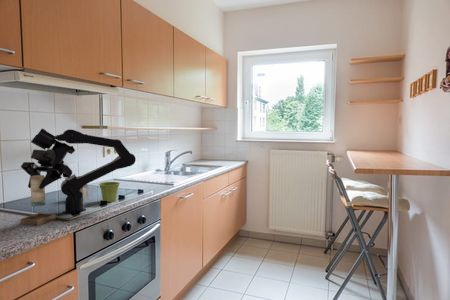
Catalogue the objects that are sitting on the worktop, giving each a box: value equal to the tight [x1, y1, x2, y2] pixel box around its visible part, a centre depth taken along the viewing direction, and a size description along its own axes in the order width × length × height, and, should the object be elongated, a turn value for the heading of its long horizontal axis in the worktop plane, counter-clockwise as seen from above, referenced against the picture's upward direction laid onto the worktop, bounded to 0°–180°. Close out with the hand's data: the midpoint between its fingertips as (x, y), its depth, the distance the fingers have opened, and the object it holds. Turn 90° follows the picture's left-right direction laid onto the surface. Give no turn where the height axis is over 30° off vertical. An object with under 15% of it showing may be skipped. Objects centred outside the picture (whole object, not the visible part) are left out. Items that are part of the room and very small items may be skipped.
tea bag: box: [80, 184, 90, 202], centre depth 144 cm, size 4×7×10 cm, turn 74°
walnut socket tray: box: [19, 212, 57, 227], centre depth 110 cm, size 8×8×2 cm
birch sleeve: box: [29, 174, 46, 208], centre depth 109 cm, size 4×4×11 cm
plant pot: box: [98, 181, 120, 203], centre depth 142 cm, size 9×9×9 cm
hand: (34, 187), depth 108 cm, fingers closed on birch sleeve, 4 cm apart
